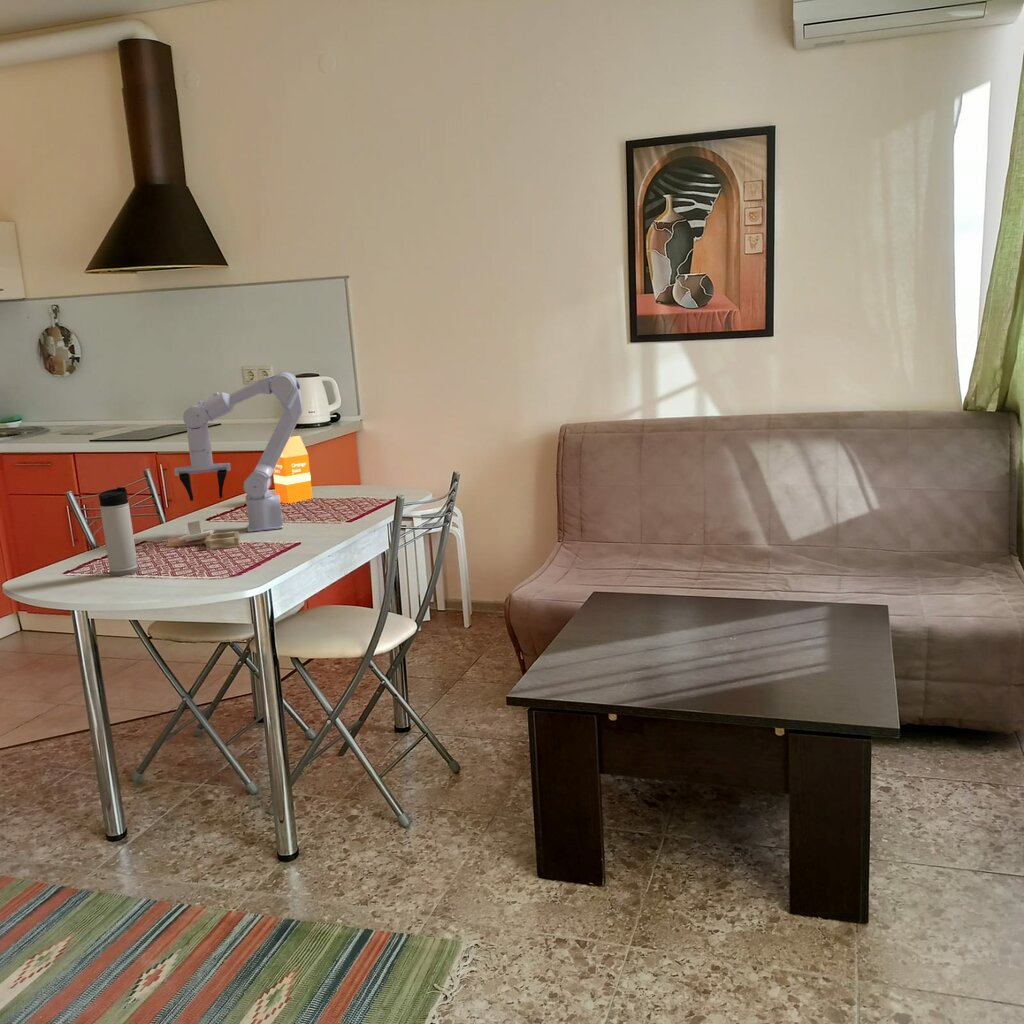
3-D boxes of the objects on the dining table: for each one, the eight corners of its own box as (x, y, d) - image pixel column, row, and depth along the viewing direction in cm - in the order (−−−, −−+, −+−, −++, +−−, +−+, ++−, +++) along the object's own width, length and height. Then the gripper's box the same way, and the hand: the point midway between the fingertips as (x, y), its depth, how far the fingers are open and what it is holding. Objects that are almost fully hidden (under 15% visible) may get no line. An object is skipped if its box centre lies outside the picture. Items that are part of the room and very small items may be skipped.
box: (239, 539, 259) (238, 531, 258) (239, 546, 251) (238, 537, 250) (208, 543, 257) (207, 534, 256) (206, 550, 249) (205, 541, 249)
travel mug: (145, 569, 234) (133, 487, 230) (126, 576, 228) (113, 492, 223) (123, 568, 236) (111, 486, 232) (104, 575, 230) (91, 492, 226)
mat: (212, 533, 268) (212, 532, 268) (210, 542, 257) (210, 541, 257) (170, 538, 265) (170, 536, 265) (166, 547, 255) (166, 546, 255)
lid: (215, 534, 263) (211, 517, 262) (211, 537, 255) (207, 520, 254) (184, 540, 262) (180, 523, 261) (179, 543, 254) (175, 526, 253)
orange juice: (276, 501, 310) (269, 438, 306) (300, 496, 316) (293, 434, 311) (288, 503, 304) (281, 440, 300) (313, 498, 310) (306, 436, 306)
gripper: (228, 445, 271) (234, 493, 274) (173, 450, 267) (180, 498, 270) (227, 448, 264) (233, 498, 267) (171, 453, 261) (178, 503, 264)
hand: (206, 498), depth 268 cm, fingers open, 7 cm apart
